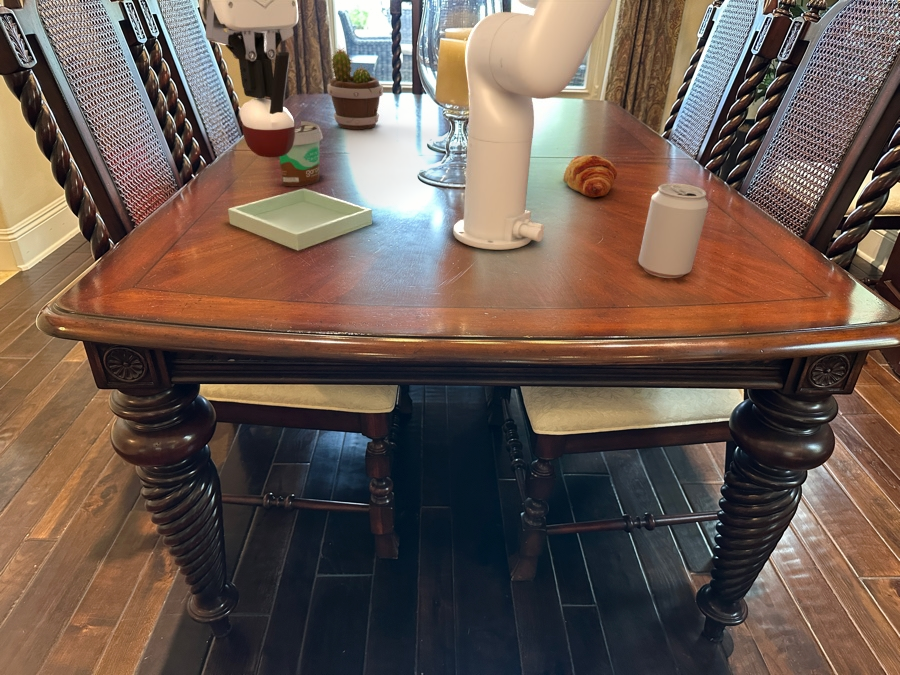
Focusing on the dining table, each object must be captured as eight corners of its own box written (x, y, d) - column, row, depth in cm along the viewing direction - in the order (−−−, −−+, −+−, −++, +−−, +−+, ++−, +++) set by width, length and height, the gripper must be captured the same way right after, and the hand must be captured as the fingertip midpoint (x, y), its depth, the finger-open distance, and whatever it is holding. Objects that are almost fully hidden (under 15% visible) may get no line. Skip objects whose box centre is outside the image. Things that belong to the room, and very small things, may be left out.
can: (660, 283, 84) (680, 199, 78) (626, 263, 90) (642, 182, 84) (702, 276, 87) (724, 193, 81) (666, 256, 93) (684, 178, 87)
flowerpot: (385, 121, 172) (383, 42, 162) (382, 132, 159) (380, 48, 149) (333, 119, 172) (328, 40, 161) (325, 131, 158) (320, 46, 148)
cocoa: (243, 148, 78) (227, 45, 72) (293, 145, 80) (281, 44, 74) (250, 166, 71) (233, 53, 65) (304, 162, 73) (293, 52, 67)
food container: (310, 190, 114) (306, 136, 109) (280, 187, 115) (274, 133, 110) (334, 173, 125) (331, 122, 120) (306, 170, 126) (302, 120, 121)
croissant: (564, 187, 134) (551, 154, 130) (608, 167, 131) (596, 133, 128) (581, 218, 115) (566, 180, 112) (632, 195, 113) (618, 156, 109)
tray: (372, 224, 100) (371, 209, 99) (297, 250, 89) (296, 234, 88) (305, 201, 109) (303, 188, 108) (229, 223, 98) (227, 208, 97)
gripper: (190, -104, 55) (224, 109, 65) (316, -89, 66) (329, 92, 75) (145, -101, 59) (183, 100, 68) (271, -87, 69) (289, 85, 79)
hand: (259, 95), depth 72 cm, fingers closed on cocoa, 1 cm apart
